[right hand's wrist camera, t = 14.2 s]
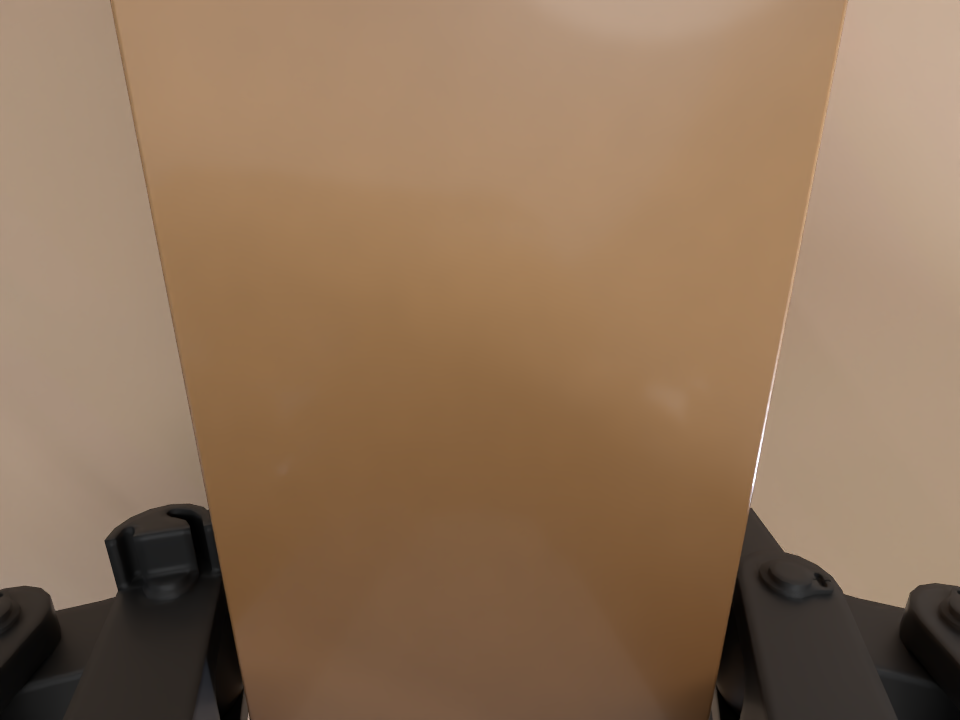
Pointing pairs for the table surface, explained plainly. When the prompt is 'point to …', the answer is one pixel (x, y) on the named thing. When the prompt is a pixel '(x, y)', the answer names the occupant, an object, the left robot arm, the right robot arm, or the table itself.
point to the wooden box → (479, 332)
